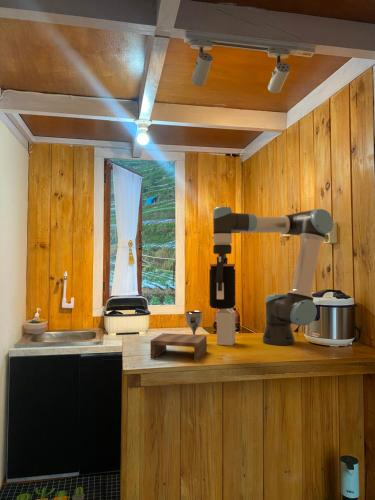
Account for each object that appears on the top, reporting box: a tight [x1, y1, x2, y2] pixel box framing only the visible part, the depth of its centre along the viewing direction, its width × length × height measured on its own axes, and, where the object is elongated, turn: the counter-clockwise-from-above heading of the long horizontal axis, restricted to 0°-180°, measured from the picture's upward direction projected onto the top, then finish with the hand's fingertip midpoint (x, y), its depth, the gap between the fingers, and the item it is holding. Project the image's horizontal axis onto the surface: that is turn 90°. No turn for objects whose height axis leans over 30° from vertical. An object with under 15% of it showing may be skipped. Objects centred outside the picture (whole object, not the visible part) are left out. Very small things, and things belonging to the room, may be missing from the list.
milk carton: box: [216, 308, 236, 347], centre depth 177 cm, size 7×7×19 cm
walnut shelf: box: [149, 332, 208, 362], centre depth 156 cm, size 20×16×7 cm
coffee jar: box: [208, 263, 236, 310], centre depth 153 cm, size 11×11×18 cm
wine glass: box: [185, 310, 203, 335], centre depth 177 cm, size 8×8×15 cm
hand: (222, 297), depth 153 cm, fingers closed on coffee jar, 11 cm apart
